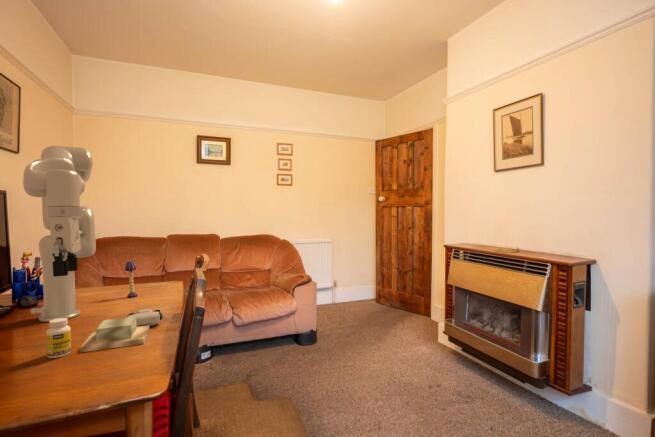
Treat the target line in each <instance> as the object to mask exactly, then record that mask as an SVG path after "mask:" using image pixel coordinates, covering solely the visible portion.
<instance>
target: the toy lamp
mask: <svg viewBox="0 0 655 437" xmlns="http://www.w3.org/2000/svg"><path fill="white" fill-rule="evenodd" d="M136 270H137V266H136V264H135V261H134V260H129V261H126V264H125V267H124V271H126V272H128V276H129V277H128V282H129V293H128V294H127V297H128V298H127V297H126V298H127V299H130V298H131V297H133V298H137V297H138V296H139V295H138V293H136V292H135V284H134V271H136ZM131 299H132V298H131Z"/></svg>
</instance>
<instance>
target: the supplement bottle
mask: <svg viewBox="0 0 655 437" xmlns="http://www.w3.org/2000/svg"><path fill="white" fill-rule="evenodd" d="M48 323H49V326H48V327H49V328H48V329H47V330H46V335H45V336H46V357H47V358H48V359H57V358H62V357H66V356H67V355H69V354H71V352H72V332H71V331H72V329H71V326H69V325H68V324H69V322H68V319H67V318H58V319H54V320H51V321H50V322H48Z"/></svg>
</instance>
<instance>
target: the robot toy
mask: <svg viewBox="0 0 655 437" xmlns="http://www.w3.org/2000/svg"><path fill="white" fill-rule="evenodd" d="M127 317H136V325H137V327H139V326H147V325H149V327H153V326H155V325H157V324H158V323H159V322H160V321H162V319H163V318H164V317H165V316H164V314H163V313H162V310H160V309H155V310H152V309H151V308H146V309H145V308H144V309H140V310H137V312H136V313H134V312H131V313H130V312H129V314H127Z"/></svg>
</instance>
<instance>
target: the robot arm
mask: <svg viewBox="0 0 655 437" xmlns="http://www.w3.org/2000/svg"><path fill="white" fill-rule="evenodd" d="M92 169H93V156H92V154H91V152H90V151H89V150H88V149H86V148H83V147H76V146H75V147H74V146H67V145H66V146H64V145H50V146H47V147H45V148H44V149H42V151H41V155H40V158H39V159H35V160H33V161H32V162H31V163H29V164H27V165H26V167H25V168H24V169H23V170H24V171H23V176H22V177H23V178H22V185H23V186H22V187H23V189H24V190H23V191H25V193H26V194H27V195H28V196H29V197H34V198H41V207H42V208H41V209H42V224H43V226H44V229H45V230H48V231H50V235H49V234H48V235H45V236H43V237H41V238H40V240H38V251H39V255H40V261H41V266H42V267H41V269H42V270H41V271H42V288H43V306H41V307H39V308H38V307H37V308H35V307H33V308H31V309H30V314H31V315H39V316H38V321H39V322H46V323H47V322H48V323H49V322H50V321H51V320H54V319H58V318H67V319H72V318H75V317H78V316H80V315H82V310H80V309H77V308H76V305H77V304H76V302H77V301H76V282H75V281H76V278H75V276H76V275H75V273H76V272H77V271H78V269H79V268H78V258H86V257H93V256H94V255H95V253H96V250H97V243H96V242H97V241H96V240H97V239H96V225H95V216H94V212H93V210H92V209H91V208H90V207H89V206H85V205H84V206H82V205H81V196H82V194H83V193H85V189H86V188H85V186H86V185H85V183H87V182H88V181H89V180H90V177H91V173H92Z"/></svg>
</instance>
